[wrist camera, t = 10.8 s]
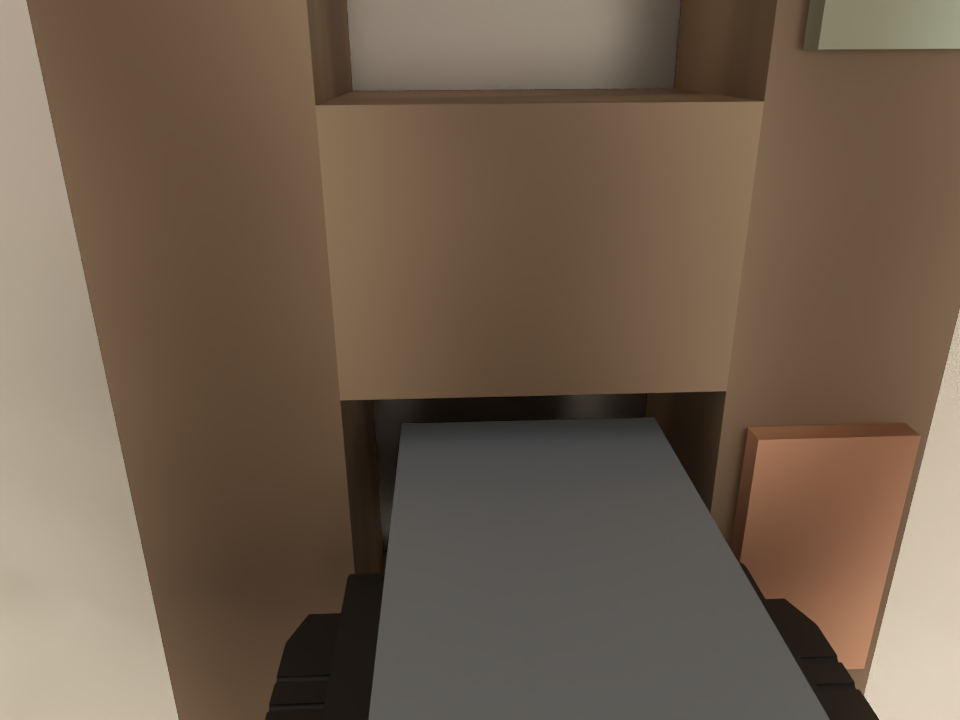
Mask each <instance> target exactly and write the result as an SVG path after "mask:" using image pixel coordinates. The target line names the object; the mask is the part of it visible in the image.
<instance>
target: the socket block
mask: <svg viewBox="0 0 960 720" xmlns="http://www.w3.org/2000/svg"><path fill="white" fill-rule="evenodd" d="M27 5H28V10H29V14H30V19H31V24H32V29H33V33H34V38H35V43H36V47H37V52H38V57H39V62H40V66H41V71H42V76H43V81H44V85H45V90H46V95H47V99H48V104H49V109H50V114H51V118H52V123H53V128H54V132H55V137H56V142H57V147H58V151H59V156H60V161H61V165H62V170H63V175H64V180H65V184H66V189H67V194H68V199H69V203H70V208H71V213H72V217H73V222H74V227H75V232H76V236H77V241H78V246H79V250H80V255H81V260H82V265H83V269H84V274H85V279H86V283H87V288H88V293H89V298H90V302H91V307H92V312H93V317H94V321H95V326H96V331H97V335H98V340H99V345H100V350H101V354H102V359H103V364H104V368H105V373H106V378H107V383H108V387H109V392H110V397H111V402H112V406H113V411H114V416H115V420H116V425H117V430H118V435H119V439H120V444H121V449H122V453H123V458H124V463H125V468H126V472H127V477H128V482H129V486H130V491H131V496H132V501H133V505H134V510H135V515H136V520H137V524H138V529H139V534H140V538H141V543H142V548H143V553H144V557H145V562H146V567H147V571H148V576H149V581H150V586H151V590H152V595H153V600H154V604H155V609H156V614H157V619H158V623H159V628H160V633H161V638H162V642H163V647H164V652H165V656H166V661H167V666H168V671H169V675H170V680H171V685H172V689H173V694H174V699H175V704H176V708H177V713H178V718H179V720H265V718H266V714H267V712H269V703H270V699H271V695H272V692H273V688H274V684H275V683H276V681H277V673H278V669H279V665H280V662H281V658H282V654H283V651H284V647H285V643H286V642H287V641H288V639H289V638H290V637H291V636H292V634H293V633H294V632H295V631H296V629H297V628H298V627H299V626H300V624H301V623H302V622H303V621H304V620H305V618H306V617H307V616H308V615H309V614H329V613H341V610H342V605H343V599H344V594H345V588H346V583H347V578H348V576H349V574H363V573H385V569H386V560H387V553H383V547H382V532H381V517H380V501H379V486H378V471H377V456H376V441H375V426H374V411H373V400H380V399H421V398H463V397H504V396H546V395H588V394H629V393H647V405H646V416H645V418H651V417H654V418H655V420H656V421H657V423H658V425H659V427H660V428H661V430H662V432H663V433H664V435H665V437H666V439H667V440H668V442H669V444H670V445H671V447H672V449H673V451H674V452H675V454H676V456H677V458H678V459H679V461H680V463H681V464H682V466H683V468H684V470H685V471H686V473H687V475H688V476H689V478H690V480H691V482H692V483H693V485H694V487H695V489H696V490H697V492H698V494H699V495H700V497H701V499H702V501H703V502H704V504H705V506H706V507H707V509H708V511H709V513H710V514H711V516H712V518H713V520H714V521H715V523H716V525H717V526H718V528H719V530H720V532H721V533H722V535H723V537H724V538H725V540H726V542H727V544H728V545H729V547H730V549H731V550H732V552H733V554H734V556H735V557H736V559H737V561H738V562H741V563H743V564H744V565H745V566H746V567H747V569H748V570H749V572H750V574H751V575H752V577H753V579H754V580H755V582H756V584H757V586H758V587H759V589H760V591H761V592H762V594H763V596H764V597H765V599H780V598H785V599H786V600H787V601H788V602H790V603H791V604H792V605H793V606H795V607H796V608H797V609H798V610H800V611H801V612H802V613H803V614H805V615H806V616H807V617H808V618H809V619H811V620H812V621H813V622H814V623H816V624H817V625H818V627H819V628H820V630H821V631H822V633H823V635H824V636H825V638H826V639H827V641H828V642H829V644H830V645H831V647H832V648H833V650H834V651H835V653H836V654H837V659H838V662H842V664H843V665H844V667H845V668H846V670H847V671H848V673H849V674H850V676H851V677H852V679H853V680H854V682H855V688H856V689H859V690H860V691H861V693H862V694H863V696H864V692H865V688H866V684H867V680H868V676H869V672H870V668H871V664H872V660H873V656H874V652H875V648H876V643H877V639H878V635H879V631H880V627H881V623H882V619H883V615H884V611H885V607H886V603H887V599H888V595H889V591H890V587H891V583H892V579H893V575H894V571H895V567H896V563H897V559H898V555H899V551H900V547H901V543H902V539H903V535H904V531H905V527H906V523H907V519H908V515H909V510H910V506H911V502H912V498H913V494H914V490H915V486H916V482H917V478H918V474H919V470H920V466H921V462H922V458H923V454H924V450H925V446H926V442H927V438H928V434H929V430H930V426H931V422H932V418H933V414H934V410H935V406H936V402H937V398H938V394H939V390H940V386H941V382H942V377H943V373H944V369H945V365H946V361H947V357H948V353H949V349H950V345H951V341H952V337H953V333H954V329H955V325H956V321H957V317H958V313H959V309H960V0H682V1H681V12H680V24H679V35H678V47H677V58H676V70H675V81H674V88H658V89H535V90H411V91H352V78H351V63H350V48H349V33H348V17H347V2H346V0H27Z"/></svg>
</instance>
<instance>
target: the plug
mask: <svg viewBox="0 0 960 720" xmlns="http://www.w3.org/2000/svg"><path fill="white" fill-rule="evenodd" d="M368 720H830V719H829V718H828V716H827V714H826V712H825V711H824V709H823V707H822V705H821V704H820V702H819V700H818V699H817V697H816V695H815V693H814V692H813V690H812V688H811V687H810V685H809V683H808V681H807V680H806V678H805V676H804V674H803V673H802V671H801V669H800V668H799V666H798V664H797V662H796V661H795V659H794V657H793V656H792V654H791V652H790V650H789V649H788V647H787V645H786V643H785V642H784V640H783V638H782V637H781V635H780V633H779V631H778V630H777V628H776V626H775V625H774V623H773V621H772V619H771V618H770V616H769V614H768V612H767V611H766V609H765V607H764V606H763V604H762V602H761V600H760V599H759V597H758V595H757V594H756V592H755V590H754V588H753V587H752V585H751V583H750V581H749V580H748V578H747V576H746V575H745V573H744V571H743V569H742V568H741V566H740V564H739V563H738V561H737V559H736V557H735V556H734V554H733V552H732V550H731V549H730V547H729V545H728V544H727V542H726V540H725V538H724V537H723V535H722V533H721V532H720V530H719V528H718V526H717V525H716V523H715V521H714V520H713V518H712V516H711V514H710V513H709V511H708V509H707V507H706V506H705V504H704V502H703V501H702V499H701V497H700V495H699V494H698V492H697V490H696V489H695V487H694V485H693V483H692V482H691V480H690V478H689V476H688V475H687V473H686V471H685V470H684V468H683V466H682V464H681V463H680V461H679V459H678V458H677V456H676V454H675V452H674V451H673V449H672V447H671V445H670V444H669V442H668V440H667V439H666V437H665V435H664V433H663V432H662V430H661V428H660V427H659V425H658V423H657V421H656V420H655V418H654V417H651V418H611V419H571V420H531V421H492V422H452V423H412V424H402V427H401V436H400V445H399V454H398V463H397V472H396V480H395V489H394V498H393V507H392V516H391V525H390V534H389V542H388V551H387V560H386V569H385V578H384V587H383V595H382V604H381V613H380V622H379V631H378V640H377V649H376V657H375V666H374V675H373V684H372V693H371V702H370V711H369V719H368Z"/></svg>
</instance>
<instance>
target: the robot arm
mask: <svg viewBox="0 0 960 720" xmlns="http://www.w3.org/2000/svg"><path fill="white" fill-rule="evenodd" d="M738 563H739V564H740V566H741V568H742V569H743V571H744V573H745V575H746V576H747V578H748V580H749V581H750V583H751V585H752V587H753V588H754V590H755V592H756V594H757V595H758V597H759V599H760V600H761V602H762V604H763V606H764V607H765V609H766V611H767V612H768V614H769V616H770V618H771V619H772V621H773V623H774V625H775V626H776V628H777V630H778V631H779V633H780V635H781V637H782V638H783V640H784V642H785V643H786V645H787V647H788V649H789V650H790V652H791V654H792V656H793V657H794V659H795V661H796V662H797V664H798V666H799V668H800V669H801V671H802V673H803V674H804V676H805V678H806V680H807V681H808V683H809V685H810V687H811V688H812V690H813V692H814V693H815V695H816V697H817V699H818V700H819V702H820V704H821V705H822V707H823V709H824V711H825V712H826V714H827V716H828V718H829V719H830V720H879V719H878V717H877V715H876V714H875V712H874V711H873V709H872V708H871V706H870V705H869V703H868V702H867V700H866V699H865V697H864V696H863V694H862V693H861V691H860V690H859V689H856V688H855V682H854V680H853V679H852V677H851V676H850V674H849V673H848V671H847V670H846V668H845V667H844V665H843V664H842V662H838V659H837V654H836V653H835V651H834V650H833V648H832V647H831V645H830V644H829V642H828V641H827V639H826V638H825V636H824V635H823V633H822V631H821V630H820V628H819V627H818V625H817V624H816V623H814V622H813V621H812V620H811V619H809V618H808V617H807V616H806V615H805V614H803V613H802V612H801V611H800V610H798V609H797V608H796V607H795V606H793V605H792V604H791V603H790V602H788V601H787V600H786V599H785V598H780V599H765V597H764V596H763V594H762V592H761V591H760V589H759V587H758V586H757V584H756V582H755V580H754V579H753V577H752V575H751V574H750V572H749V570H748V569H747V567H746V566H745V565H744V564H743V563H741V562H738ZM384 578H385V573H363V574H349V576H348V578H347V583H346V588H345V594H344V599H343V605H342V610H341V613H329V614H309V615H308V616H307V617H306V618H305V620H304V621H303V622H302V623H301V624H300V626H299V627H298V628H297V629H296V631H295V632H294V633H293V634H292V636H291V637H290V638H289V639H288V641H287V642H286V643H285V647H284V651H283V654H282V658H281V662H280V665H279V669H278V673H277V681H276V683H275V684H274V688H273V692H272V695H271V699H270V703H269V712H267V714H266V718H265V720H368V719H369V711H370V702H371V693H372V684H373V675H374V666H375V657H376V649H377V640H378V631H379V622H380V613H381V604H382V595H383V587H384Z"/></svg>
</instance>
